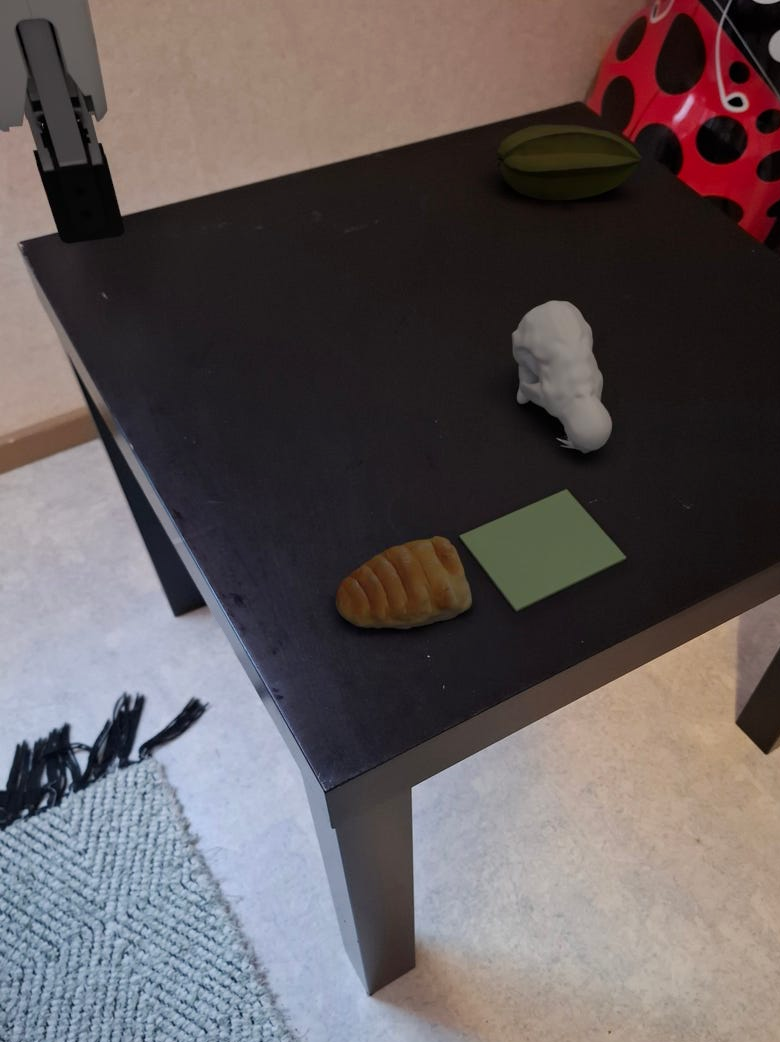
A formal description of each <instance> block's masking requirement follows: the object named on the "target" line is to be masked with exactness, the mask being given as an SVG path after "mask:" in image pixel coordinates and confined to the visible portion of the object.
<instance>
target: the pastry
mask: <svg viewBox="0 0 780 1042" xmlns="http://www.w3.org/2000/svg"><path fill="white" fill-rule="evenodd" d="M472 605H473V599H472V592H471V588H470V584H469V582H468V580H467V577H466V573H465V569H464V566H463V564H462V561H461V559H460V556H459V553H458V551H457V549H456V547H455V546H454V545H453V544H451V542H450V540H449V539H447V538H446V537H443V536H438V535H435V536H433V537H431V538H427V539H416V540H412V541H407V542H405V543H403V544H401V545H394V546H392V547H390V548H387V549H385V550H384V551H381V552H380V553H378V554H376V555H373V557H372V558H371V559H370V560H367V561H365V562H364V563H362V565H361V566H360V567H358V568H356V569H355V570H354V571H352V572H351V573H350V574H348V575H347V576H346V577H345V578H343V580H341V581H340V584H339V586H338V589H337V592H336V596H335V606H336V610H337V611H338V613H339V615H340V616H341V617H342V618H343V619H345V620H346V621H347V622H348V623H350V624H352V625H353V626H355V627H359V628H366V629H369V628H370V629H371V628H374V629H378V630H379V629H382V628H389V629H391V628H394V629H397V630H410V629H411V628H416V627H422V626H423V627H424V626H426V625H431V624H432V625H433V624H434V623H436V622H441V621H447V620H451V619H454V618H456V617H457V616H459V615H460V614H463V613H464V612H466V611H468V610H469V609H470V608H471V606H472Z"/></svg>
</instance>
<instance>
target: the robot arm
mask: <svg viewBox="0 0 780 1042" xmlns="http://www.w3.org/2000/svg"><path fill="white" fill-rule="evenodd" d="M106 97H107V96H106V92H105V85H104V79H103V74H102V68H101V63H100V57H99V51H98V45H97V40H96V35H95V29H94V25H93V19H92V14H91V9H90V4H89V0H0V131H1V132H4V133H10V132H11V131H10V128H14V127H15V128H16V127H23V124H24V118H25V119H26V120H27V122H28V125H29V129H30V132H31V135H32V138H33V141H34V144H35V148H36V149H34V150H32V152H33V156H34V159H35V163H36V166H37V171H38V174H39V178H40V181H41V183H42V186H43V190H44V193H45V196H46V199H47V203H48V205H49V208H50V211H51V214H52V218H53V221H54V224H55V228H56V230H57V233H58V237H59V239H60V241H61V242H62V243H64V244H77V243H83V242H91V241H98V240H105V239H111V238H112V239H113V238H118V237H122V236H123V235H124V234H125V231H126V230H125V226H124V225H125V224H124V221H123V216H122V213H121V210H120V209H121V208H120V205H119V201H118V198H117V194H116V190H115V185H114V182H113V178H112V173H111V169H110V165H109V161H108V158H107V155H106V153H105V150H104V147H103V144H102V142H99V139H98V136H97V133H96V127H95V124H94V120H93V116H94V117H95V120H96V122H97V123H99V122H100V121H102V119H103V118H104V117H105V116H106V114H107V112H108V104H107V103H108V102H107V98H106Z"/></svg>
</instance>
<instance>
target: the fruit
mask: <svg viewBox="0 0 780 1042" xmlns="http://www.w3.org/2000/svg"><path fill="white" fill-rule="evenodd" d="M496 154H497V158H496V160H497V163H496V165H497V166H498V167H499V172H500V174H501V176H502V178H503V179H504V181H505V182H506V184H507V185H508V186H510V187H511V188H512V189H513V190H514V191H516V193H518V194H520V195H522V196H525V197H527V198H532V199H535V200H536V199H537V200H541V201H559V202H563V201H575V200H582V199H587V198H591V197H595V196H599V195H602V194H604V193H606V192H609V191H612V190H614V189H615V188H617V187H620V186H621V185H622V184H623V183H624V182H625V181H627V180H628V179H629V178H630V177H631V176H632V175H633V174H634V173H635V172H636V171H637V169H639V167H640V166H641V164H642V163H643V162H644V161H643V157H642V156H641V154H640V152H639V151H638V150H637V149H636V146H634V145H633V144H631V143H630V142H628V141H627V140H625V139H623V138H622V137H621V136H619V135H618V134H615V133H613V132H610V131H608V130H604V129H599V128H594V127H589V126H585V125H579V124H578V125H577V124H549V123H548V124H547V123H545V124H534V125H529V126H527V127H525V128H524V127H523V128H522V129H518V130H517V131H516V132H513V133H512V134H510V135H508V136H507V137H505V139H503V140H502V141H501V142H500V144H499V146H498V149H497V151H496Z"/></svg>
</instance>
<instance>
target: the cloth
mask: <svg viewBox="0 0 780 1042" xmlns="http://www.w3.org/2000/svg"><path fill="white" fill-rule="evenodd" d="M458 537H459V540H460V542H462V543H463V545H464V546H465V548H466V549H467V550H468V551H469V553H470V554H471V555H472V557H473V558H474V559H475V560H476V562H477V563H478V564H479V566H480V567H481V569H482V570H483V571H484V572H485V574H486V575H487V576H488V577H489V579H490V580H491V581H492V583H493V584H494V586H495V588H497V590H498V591H499V592H500V593H501V595H502V596H503V597H504V599H505V600H506V601H507V603H508V604H509V605H510V606H511V608H512V609H513V610H514V612H515V613H517V612H519V611H521V610H523V609H526V608H528V607H530V606H532V605H535V604H536V603H538V602H540V601H542V600H544V599H547V598H549V597H550V596H553V595H555V594H557V593H559V592H561V591H563V590H566V589H567V588H569V587H572V586H573V585H576V584H578V583H580V582H582V581H584V580H586V579H588V578H590V577H592V576H595V575H597V574H599V573H601V572H603V571H605V570H607V569H609V568H612V567H614V566H615V565H617V564H620V563H622V562H624V561H626V560H627V556H626V555H625V554H624V553H623V551H621V549H620V548H619V546H618V545H617V544H616V543H615V542H614V541H613V540H612V539H611V538H610V537H609V536H608V535H607V534H606V532H605V531H604V530H603V529H602V527H601V526H600V525H599V524H598V523H597V522H596V521H595V520H594V518H593V517H592V516H591V515H590V514H589V512H588V511H586V509H585V508H584V506H582V505H581V504H580V502H579V501H578V500H577V499H576V498H575V497H574V496H573V494H572V493H571V492H570V491H569V490H568V489H567V488H565V489H563V490H562V491H559V492H557V493H554V494H552V495H549V496H547V497H544V498H543V499H540V500H538V501H536V502H534V503H531V504H528V505H527V506H524V507H521V508H520V509H518V510H515V511H513V512H510V513H508V514H506V515H504V516H502V517H499V518H497V519H494V520H493V521H490V522H487V523H485V524H482V525H480V526H478V527H476V528H474V529H471V530H470V531H467V532H465V533H462V534H460V535H459V536H458Z"/></svg>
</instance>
